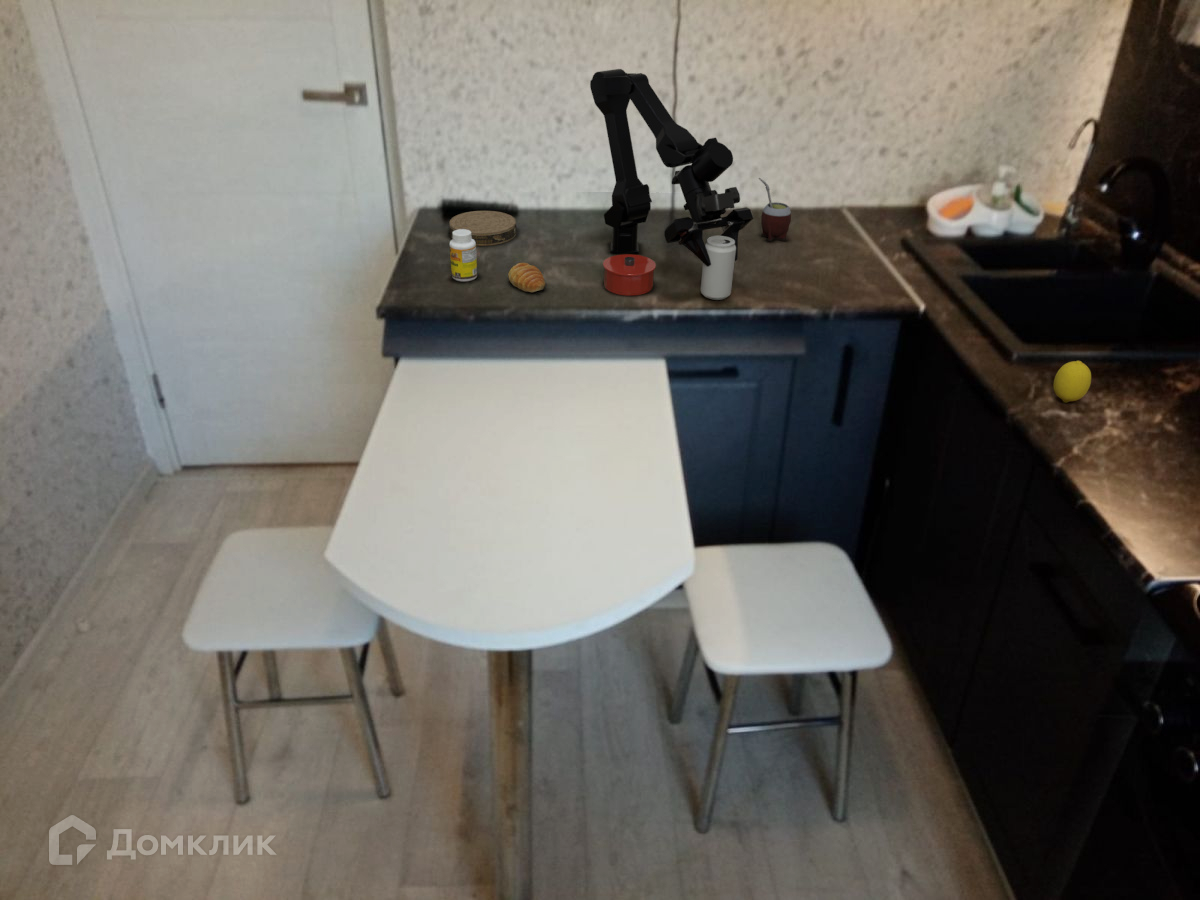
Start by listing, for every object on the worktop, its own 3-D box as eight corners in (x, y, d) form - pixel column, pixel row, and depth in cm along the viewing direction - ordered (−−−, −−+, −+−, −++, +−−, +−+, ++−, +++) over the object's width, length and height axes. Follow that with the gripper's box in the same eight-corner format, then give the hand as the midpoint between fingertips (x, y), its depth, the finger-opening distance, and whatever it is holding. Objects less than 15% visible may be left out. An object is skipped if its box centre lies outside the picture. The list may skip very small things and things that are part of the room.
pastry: (553, 290, 193) (553, 273, 191) (524, 297, 190) (524, 280, 188) (532, 275, 199) (532, 258, 197) (504, 281, 196) (504, 264, 194)
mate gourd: (792, 236, 223) (801, 175, 214) (779, 246, 217) (788, 183, 209) (764, 230, 226) (771, 169, 218) (750, 239, 220) (758, 177, 212)
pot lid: (597, 260, 197) (597, 251, 196) (646, 256, 199) (647, 247, 198) (610, 280, 188) (611, 270, 187) (662, 276, 190) (663, 266, 189)
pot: (599, 278, 199) (599, 258, 196) (644, 274, 201) (645, 255, 199) (611, 297, 190) (612, 277, 188) (659, 293, 193) (660, 273, 190)
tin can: (480, 217, 229) (480, 206, 228) (529, 232, 222) (529, 220, 220) (436, 235, 218) (435, 223, 217) (485, 250, 211) (485, 238, 209)
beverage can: (729, 302, 188) (735, 247, 181) (698, 299, 189) (703, 244, 182) (731, 290, 193) (738, 236, 186) (701, 287, 194) (706, 233, 187)
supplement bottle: (448, 274, 199) (445, 229, 193) (473, 271, 201) (470, 226, 195) (456, 284, 194) (452, 238, 189) (481, 280, 196) (478, 234, 191)
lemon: (1041, 394, 160) (1055, 353, 155) (1072, 393, 160) (1086, 353, 156) (1057, 410, 155) (1072, 369, 150) (1088, 410, 155) (1104, 368, 151)
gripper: (675, 179, 177) (701, 253, 175) (754, 168, 184) (780, 239, 182) (652, 206, 187) (677, 276, 185) (728, 194, 194) (752, 262, 192)
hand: (722, 263), depth 186 cm, fingers closed on beverage can, 6 cm apart
